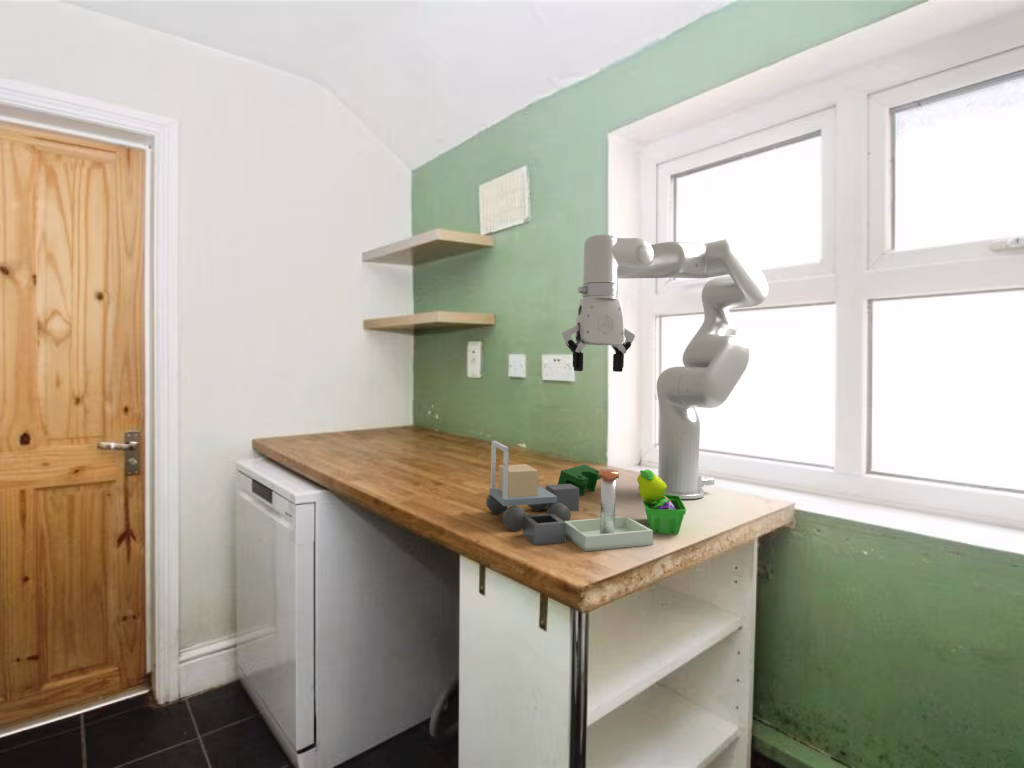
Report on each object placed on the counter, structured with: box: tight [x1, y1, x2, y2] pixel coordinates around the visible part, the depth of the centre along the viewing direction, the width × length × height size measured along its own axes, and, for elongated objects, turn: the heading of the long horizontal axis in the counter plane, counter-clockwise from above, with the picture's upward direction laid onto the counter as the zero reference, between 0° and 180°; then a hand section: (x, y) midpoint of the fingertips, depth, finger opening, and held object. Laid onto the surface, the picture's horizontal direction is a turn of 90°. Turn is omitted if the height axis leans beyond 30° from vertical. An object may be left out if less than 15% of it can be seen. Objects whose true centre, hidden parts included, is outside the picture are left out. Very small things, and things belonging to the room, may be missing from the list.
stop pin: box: [598, 468, 620, 534], centre depth 96 cm, size 4×4×12 cm
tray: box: [564, 515, 654, 552], centre depth 96 cm, size 13×9×2 cm
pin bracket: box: [522, 513, 567, 546], centre depth 96 cm, size 6×6×4 cm
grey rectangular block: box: [545, 483, 580, 512], centre depth 116 cm, size 6×4×5 cm
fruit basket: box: [637, 469, 687, 535], centre depth 105 cm, size 11×9×11 cm
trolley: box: [485, 440, 572, 532], centre depth 108 cm, size 13×14×16 cm
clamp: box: [557, 464, 601, 496], centre depth 132 cm, size 12×6×9 cm, turn 135°
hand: (598, 371), depth 117 cm, fingers open, 9 cm apart
